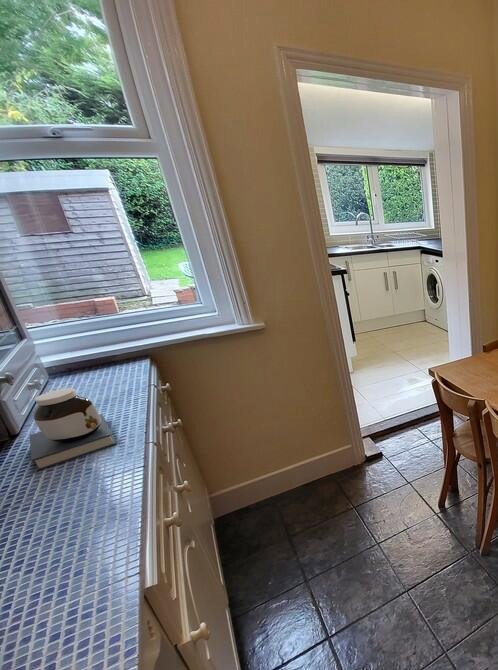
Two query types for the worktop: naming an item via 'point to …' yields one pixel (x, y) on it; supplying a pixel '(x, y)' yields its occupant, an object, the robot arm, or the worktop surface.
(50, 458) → the book
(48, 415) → the spread jar
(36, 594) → the worktop surface
